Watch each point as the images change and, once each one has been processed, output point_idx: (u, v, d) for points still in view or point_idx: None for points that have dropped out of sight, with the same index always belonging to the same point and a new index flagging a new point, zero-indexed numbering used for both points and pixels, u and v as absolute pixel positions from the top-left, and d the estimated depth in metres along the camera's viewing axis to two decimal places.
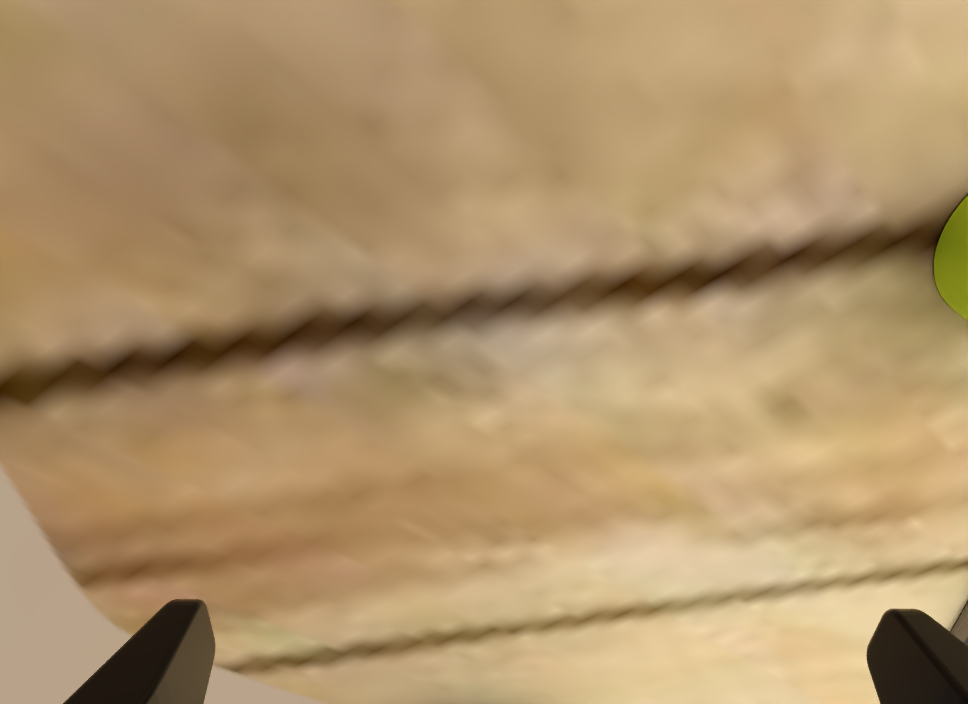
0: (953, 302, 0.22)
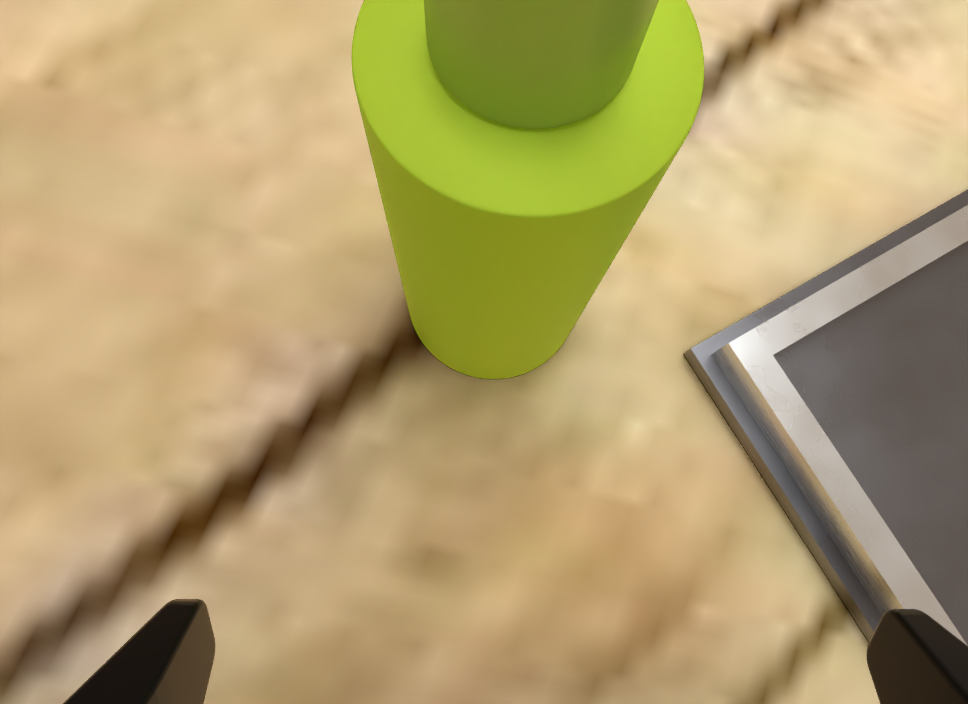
0: (460, 367, 0.23)
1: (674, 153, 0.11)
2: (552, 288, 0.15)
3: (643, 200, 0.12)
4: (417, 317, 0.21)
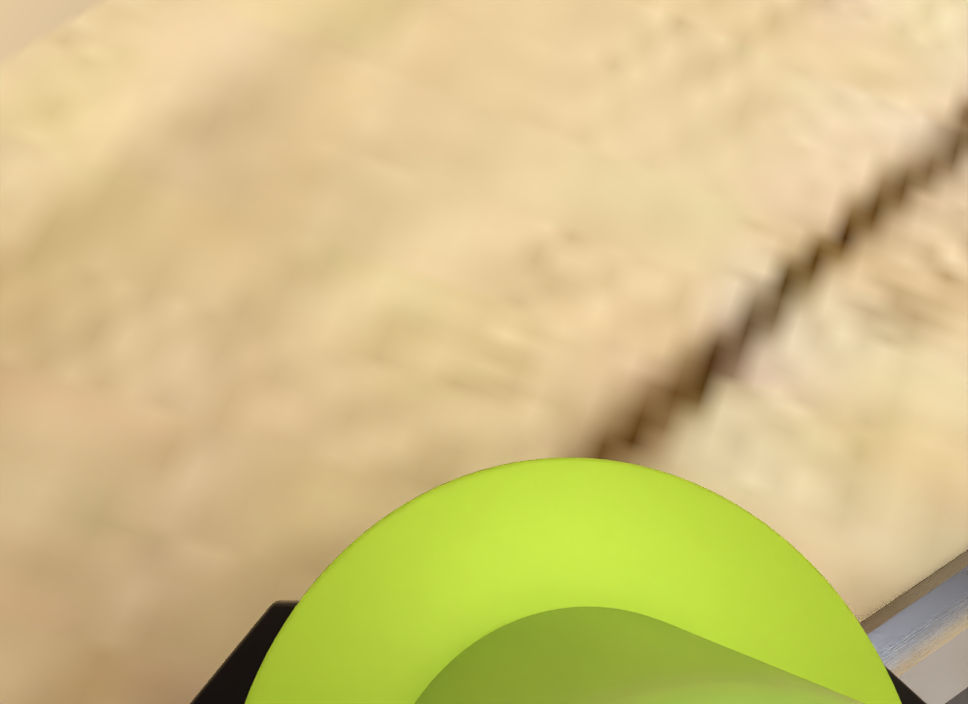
0: None
1: None
2: None
3: None
4: None
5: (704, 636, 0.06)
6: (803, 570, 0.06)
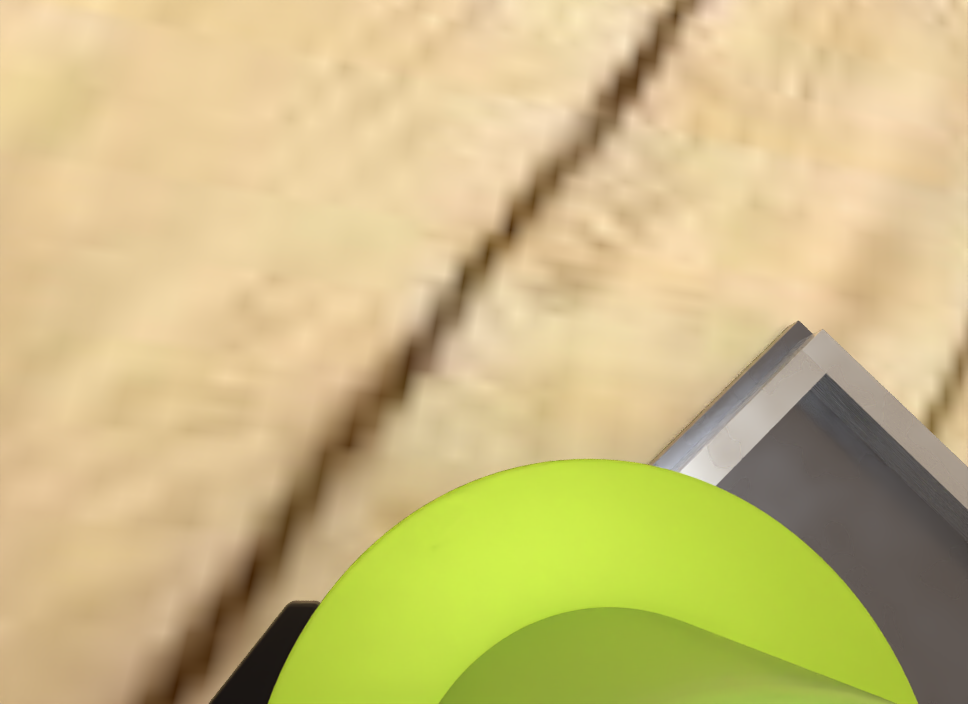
0: None
1: None
2: None
3: None
4: None
5: (724, 636, 0.06)
6: (820, 571, 0.06)
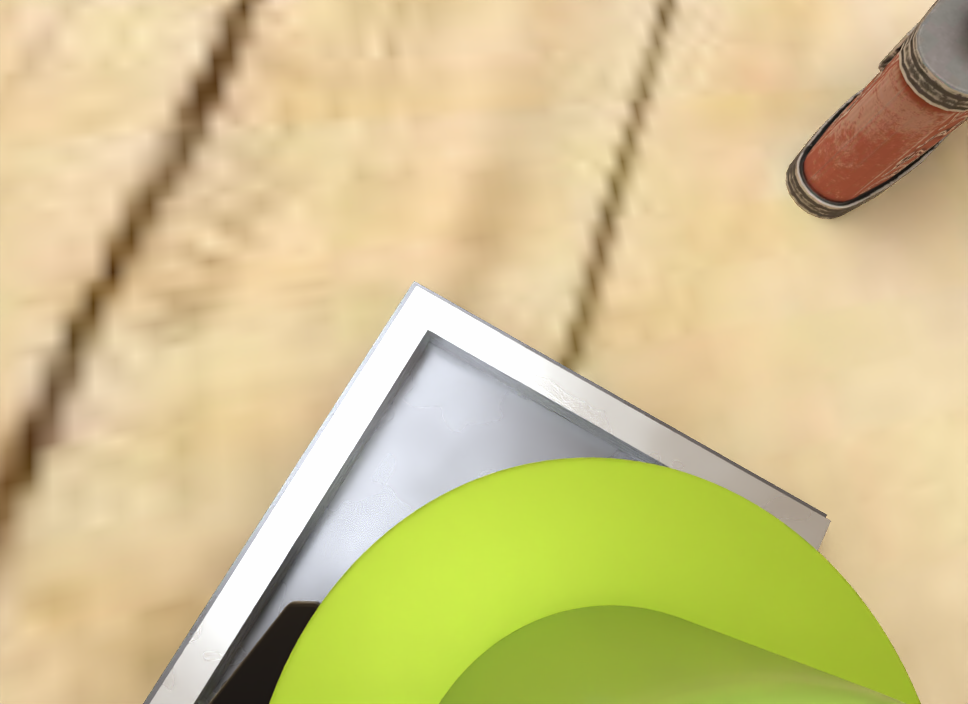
0: None
1: None
2: None
3: None
4: None
5: (725, 634, 0.06)
6: (822, 569, 0.06)
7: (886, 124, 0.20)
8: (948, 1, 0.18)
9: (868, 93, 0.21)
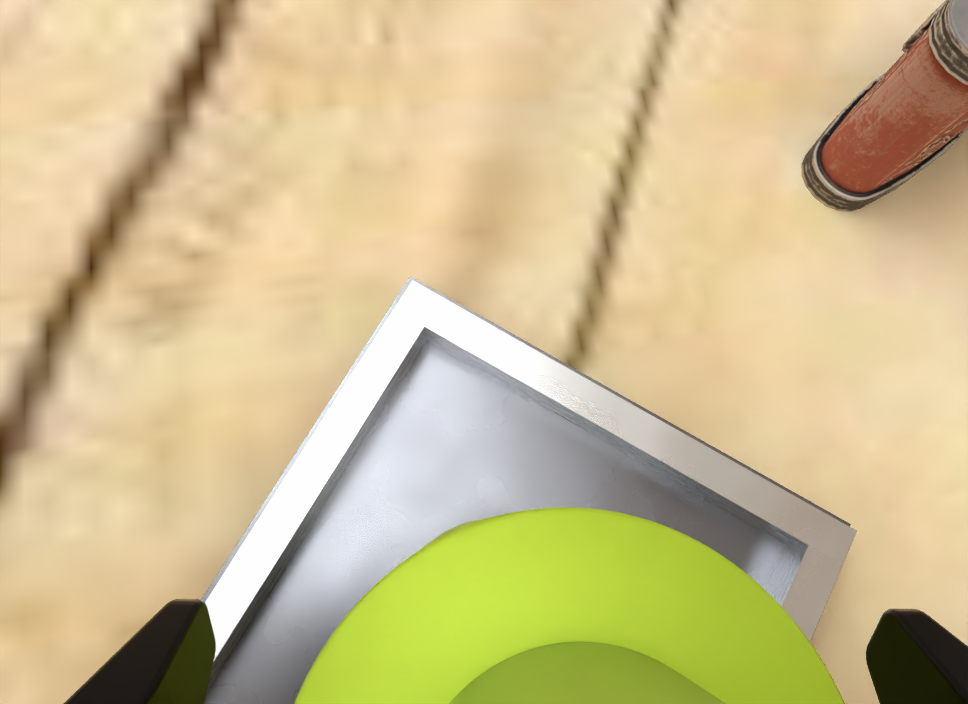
0: None
1: None
2: None
3: None
4: None
5: (681, 666, 0.07)
6: (769, 607, 0.07)
7: (913, 107, 0.19)
8: None
9: (893, 74, 0.19)
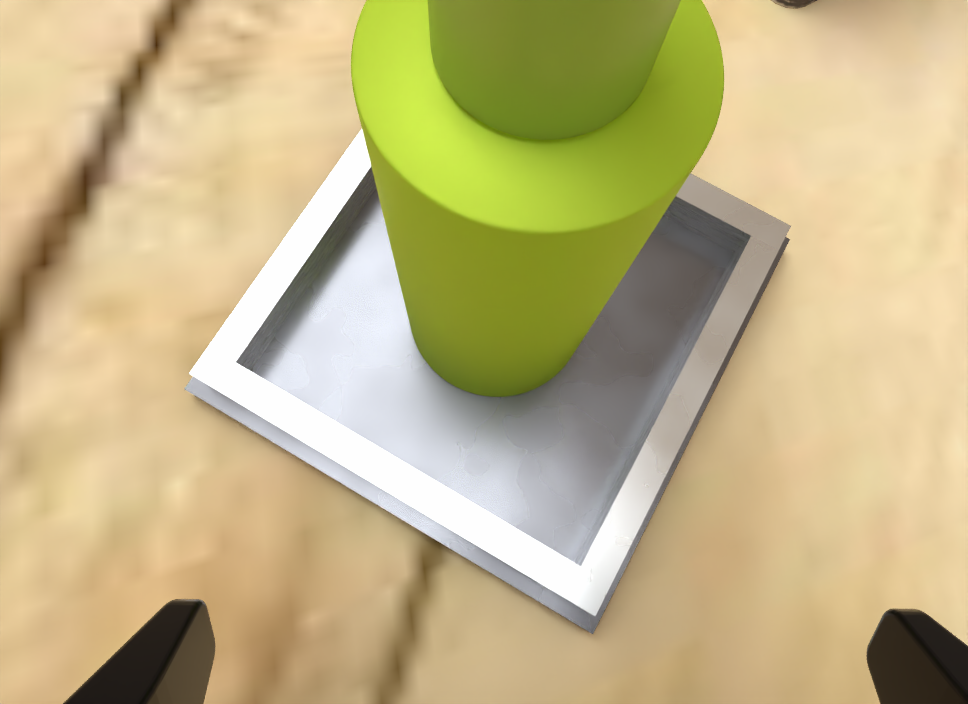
0: (464, 385, 0.22)
1: (693, 165, 0.11)
2: (562, 305, 0.14)
3: (659, 214, 0.12)
4: (419, 334, 0.20)
5: None
6: None
7: None
8: None
9: None
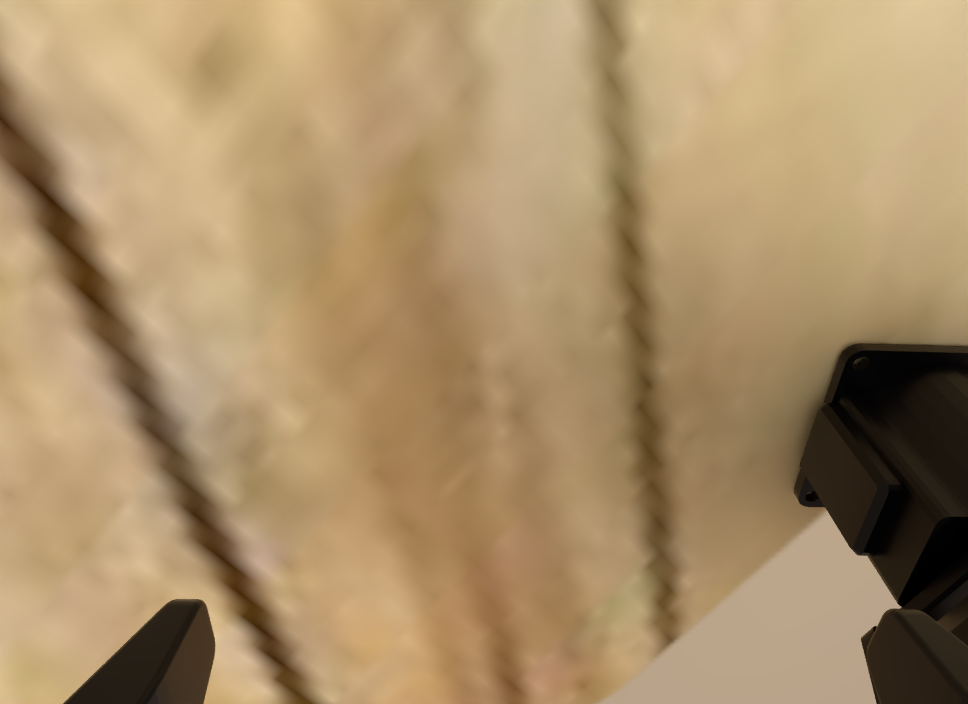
0: None
1: None
2: None
3: None
4: None
5: None
6: None
7: None
8: None
9: None
